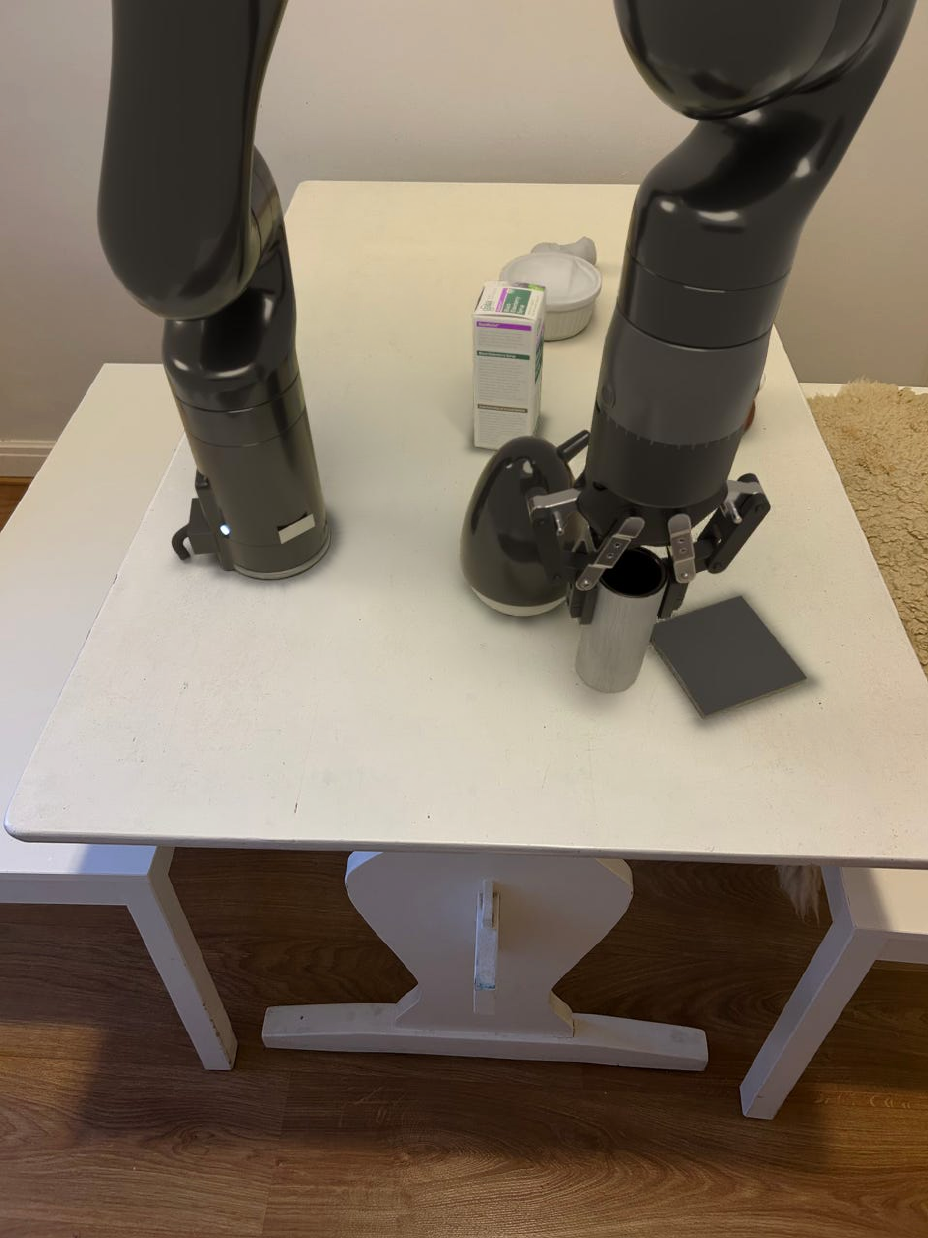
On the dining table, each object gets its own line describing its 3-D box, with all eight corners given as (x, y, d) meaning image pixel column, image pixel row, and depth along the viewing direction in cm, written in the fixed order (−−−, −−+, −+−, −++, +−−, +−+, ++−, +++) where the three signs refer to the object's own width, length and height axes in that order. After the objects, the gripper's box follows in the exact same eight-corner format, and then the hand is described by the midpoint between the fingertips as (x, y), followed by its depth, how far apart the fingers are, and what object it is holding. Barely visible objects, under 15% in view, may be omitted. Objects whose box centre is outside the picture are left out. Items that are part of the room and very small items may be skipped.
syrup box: (531, 455, 81) (540, 319, 70) (471, 447, 82) (471, 311, 70) (539, 419, 84) (550, 283, 73) (482, 412, 85) (483, 277, 74)
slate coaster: (704, 720, 62) (705, 715, 61) (643, 631, 67) (645, 626, 67) (805, 682, 64) (808, 677, 63) (739, 599, 69) (741, 594, 69)
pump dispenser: (607, 604, 69) (636, 460, 57) (500, 654, 66) (506, 514, 54) (540, 528, 75) (553, 383, 63) (438, 571, 71) (431, 427, 60)
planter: (633, 642, 61) (661, 542, 53) (643, 694, 58) (674, 597, 50) (571, 642, 61) (590, 543, 53) (578, 695, 58) (598, 598, 50)
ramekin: (614, 334, 94) (620, 290, 90) (523, 356, 91) (525, 312, 87) (569, 286, 101) (574, 243, 96) (483, 305, 98) (484, 261, 94)
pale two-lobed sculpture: (531, 292, 102) (526, 260, 104) (596, 288, 102) (590, 256, 104) (533, 266, 98) (528, 232, 100) (601, 261, 98) (595, 228, 100)
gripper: (788, 339, 44) (711, 562, 57) (519, 353, 43) (503, 576, 56) (844, 430, 39) (745, 649, 53) (543, 448, 38) (519, 667, 51)
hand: (620, 610), depth 54 cm, fingers closed on planter, 4 cm apart
